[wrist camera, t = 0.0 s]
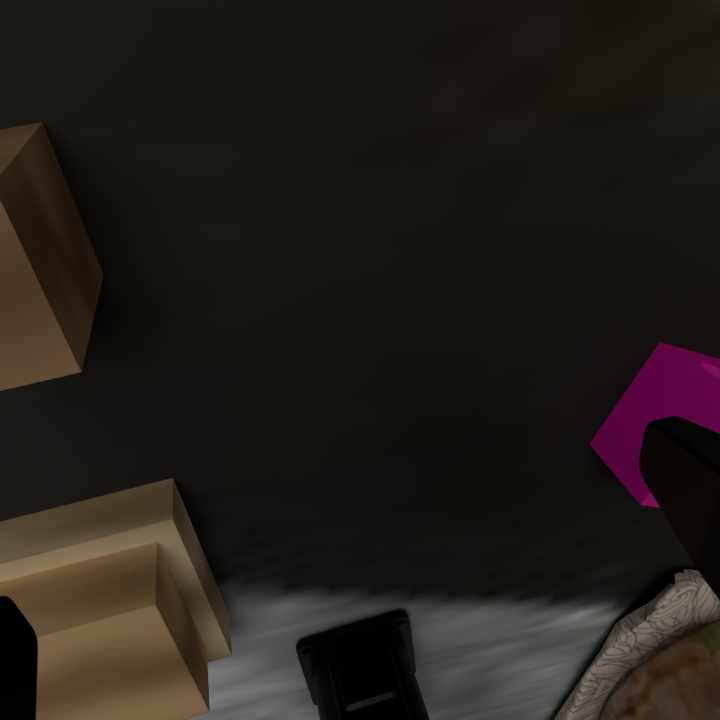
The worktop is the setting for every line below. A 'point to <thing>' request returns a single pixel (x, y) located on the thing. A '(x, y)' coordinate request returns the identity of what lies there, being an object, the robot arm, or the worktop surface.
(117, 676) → the oak slab
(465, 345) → the worktop surface
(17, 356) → the walnut block
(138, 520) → the beech slab
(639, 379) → the toy block
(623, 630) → the cookie jar
